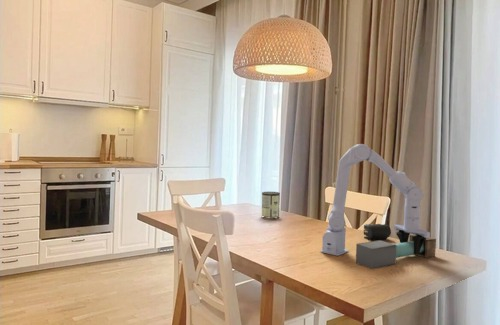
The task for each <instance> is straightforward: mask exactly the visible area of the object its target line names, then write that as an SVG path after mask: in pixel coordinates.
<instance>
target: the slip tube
mask: <svg viewBox="0 0 500 325" xmlns="http://www.w3.org/2000/svg"><path fill="white" fill-rule="evenodd" d="M393 244H394V245H396V259H397V258H402V257H407V256H413V255H415V254H414V242H413V241H410V240H409V241H408V242H404V243H400V242H398V243H393ZM424 252H425V241H424V243H423V245H422V247H421V249H420V253H424Z"/></svg>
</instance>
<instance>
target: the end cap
mask: <svg viewBox="0 0 500 325" xmlns="http://www.w3.org/2000/svg"><path fill="white" fill-rule="evenodd" d="M363 230H364V231H363V235H364V236H363V238H364V239H366V240H368V241H373V240H374V241H378V240H386V239H388V238H390V237H391V235H392V234H391V233H392V230H391V227H390V226H389V225H388V224H386V223H385V224H384V223H383V224H381V223H375V224H370V223H367V224H364V225H363ZM365 230H366V231H365Z"/></svg>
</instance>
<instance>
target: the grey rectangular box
mask: <svg viewBox="0 0 500 325" xmlns="http://www.w3.org/2000/svg"><path fill="white" fill-rule="evenodd" d="M394 244H395V243H390V242H387V241H384V240H382V239H377V240H374V241H373V240H371V241H366V242H359V243H356V245H355V246H356V247H355V252H356V253H355V263H356V264H357V265H360V266H362V267H366V268H368V269H370V270H375V269H381V268H385V267H391V266H394V265H396V264H397V258H396V245H394Z"/></svg>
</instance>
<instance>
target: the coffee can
mask: <svg viewBox="0 0 500 325" xmlns="http://www.w3.org/2000/svg"><path fill="white" fill-rule="evenodd" d="M280 194H281V192H278V191H262V192H261V217H262V216H264V217H270V218H275V217H279V218H280V196H281V195H280ZM275 219H276V218H275Z"/></svg>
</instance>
